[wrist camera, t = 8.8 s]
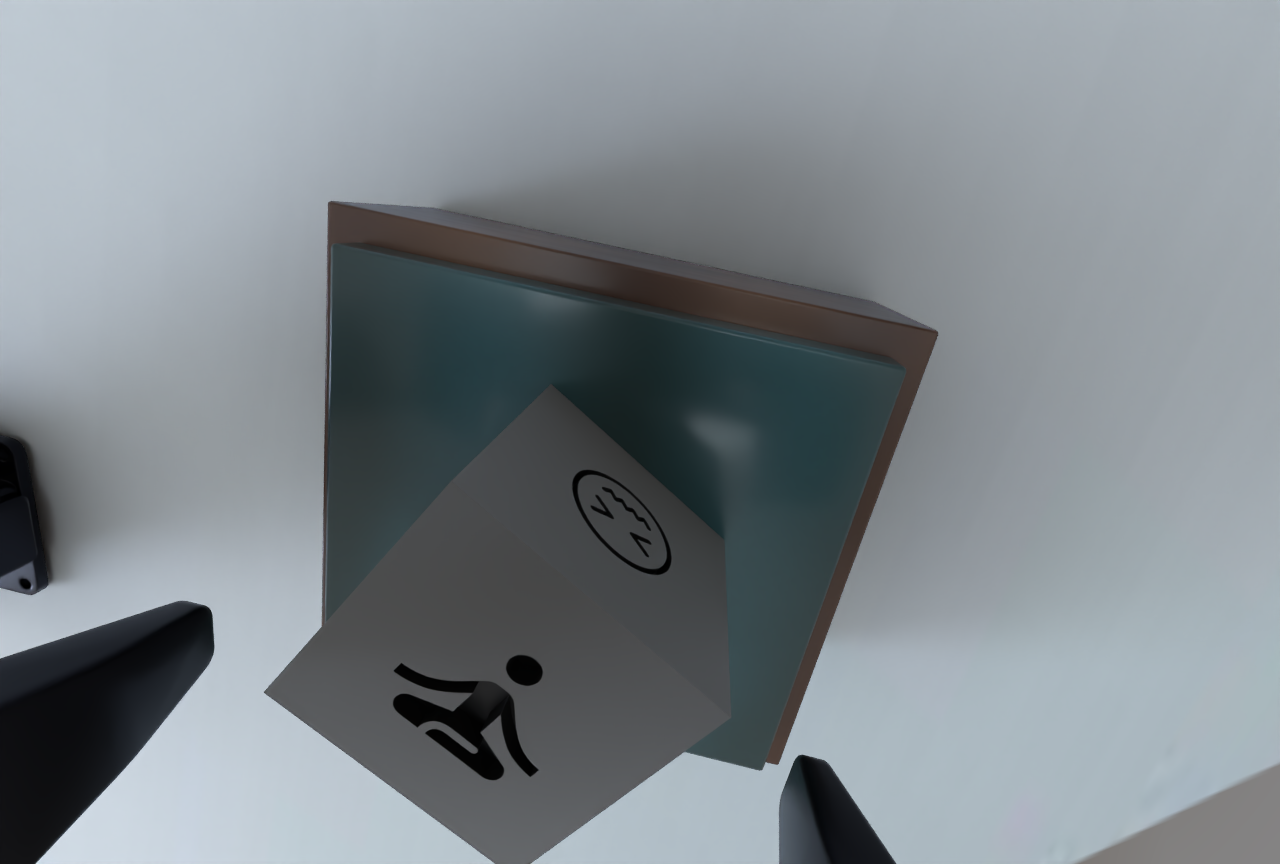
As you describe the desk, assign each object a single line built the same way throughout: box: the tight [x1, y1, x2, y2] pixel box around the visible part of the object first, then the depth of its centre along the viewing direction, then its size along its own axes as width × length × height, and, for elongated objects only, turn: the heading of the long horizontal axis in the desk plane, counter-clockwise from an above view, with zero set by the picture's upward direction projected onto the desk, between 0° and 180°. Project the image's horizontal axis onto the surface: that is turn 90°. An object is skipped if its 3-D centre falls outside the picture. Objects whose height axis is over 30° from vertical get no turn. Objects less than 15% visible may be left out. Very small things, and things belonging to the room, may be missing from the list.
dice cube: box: [264, 384, 731, 864], centre depth 11 cm, size 5×5×5 cm
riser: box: [322, 201, 938, 771], centre depth 16 cm, size 13×12×6 cm
